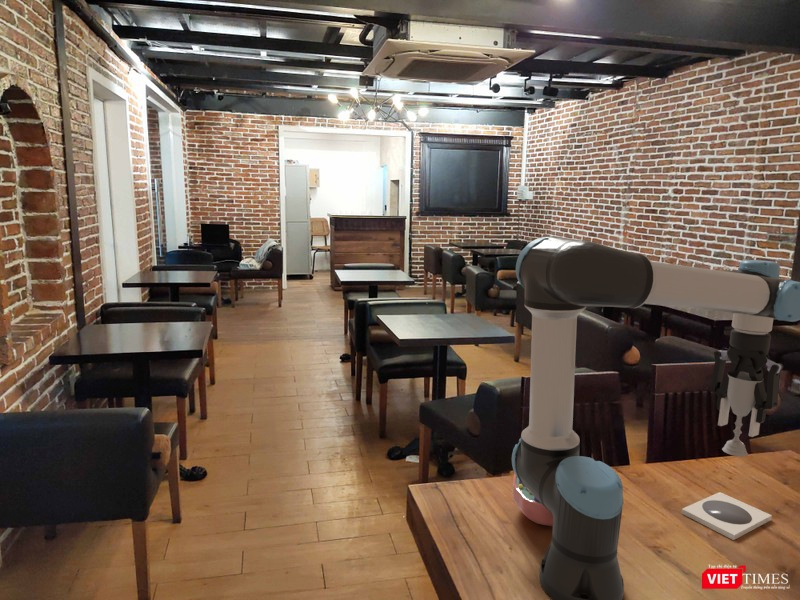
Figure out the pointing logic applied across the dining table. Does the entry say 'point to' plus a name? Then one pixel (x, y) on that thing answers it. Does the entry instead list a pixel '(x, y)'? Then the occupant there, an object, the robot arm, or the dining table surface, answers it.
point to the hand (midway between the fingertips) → (737, 429)
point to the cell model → (530, 504)
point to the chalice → (740, 409)
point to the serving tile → (726, 515)
